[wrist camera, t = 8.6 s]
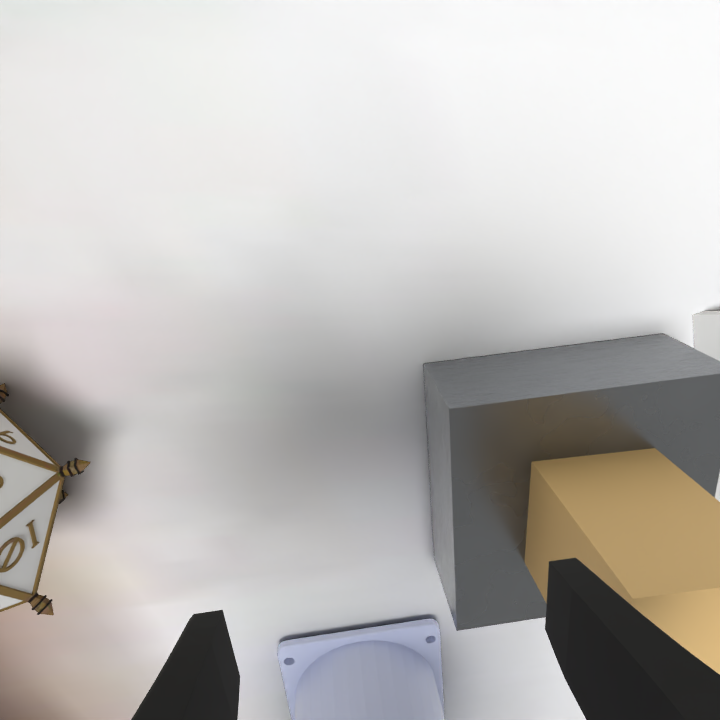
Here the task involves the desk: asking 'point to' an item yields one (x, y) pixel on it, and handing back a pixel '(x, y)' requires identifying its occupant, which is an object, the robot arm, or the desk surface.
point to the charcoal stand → (549, 448)
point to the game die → (27, 512)
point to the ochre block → (633, 538)
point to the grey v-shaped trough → (708, 344)
